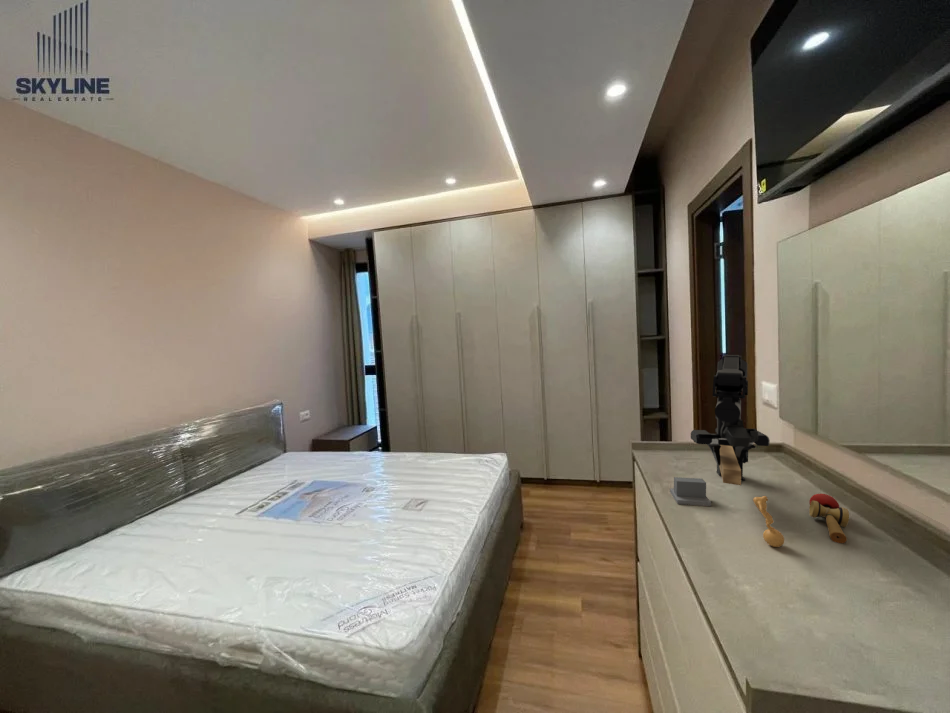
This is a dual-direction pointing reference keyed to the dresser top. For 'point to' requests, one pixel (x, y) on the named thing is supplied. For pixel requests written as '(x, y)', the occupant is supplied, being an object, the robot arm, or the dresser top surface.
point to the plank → (729, 466)
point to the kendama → (830, 515)
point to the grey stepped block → (690, 491)
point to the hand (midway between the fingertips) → (728, 465)
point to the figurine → (770, 534)
